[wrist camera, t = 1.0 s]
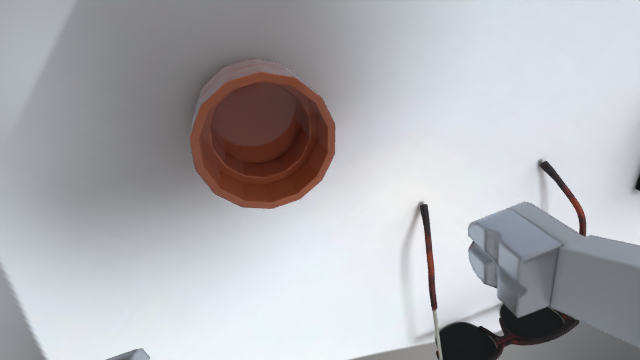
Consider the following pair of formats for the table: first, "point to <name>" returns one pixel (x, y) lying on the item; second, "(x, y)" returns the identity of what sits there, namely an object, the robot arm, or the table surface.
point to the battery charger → (638, 185)
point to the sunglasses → (481, 344)
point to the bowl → (261, 135)
